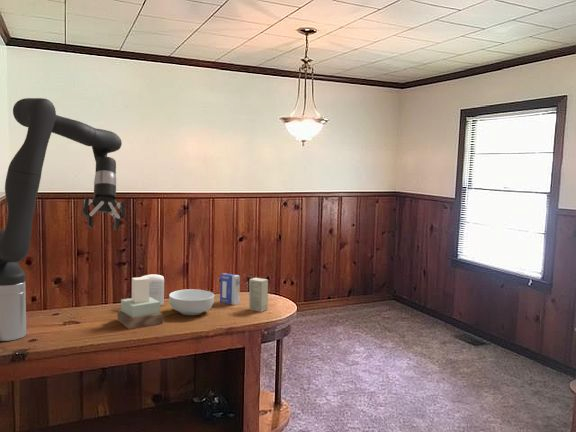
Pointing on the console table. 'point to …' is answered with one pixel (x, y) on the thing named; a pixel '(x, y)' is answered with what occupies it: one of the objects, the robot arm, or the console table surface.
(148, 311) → the tower top
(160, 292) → the photo printer
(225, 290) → the walkman
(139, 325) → the tower base
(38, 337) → the console table surface
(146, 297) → the cream block
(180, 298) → the cereal bowl
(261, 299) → the skincare box
